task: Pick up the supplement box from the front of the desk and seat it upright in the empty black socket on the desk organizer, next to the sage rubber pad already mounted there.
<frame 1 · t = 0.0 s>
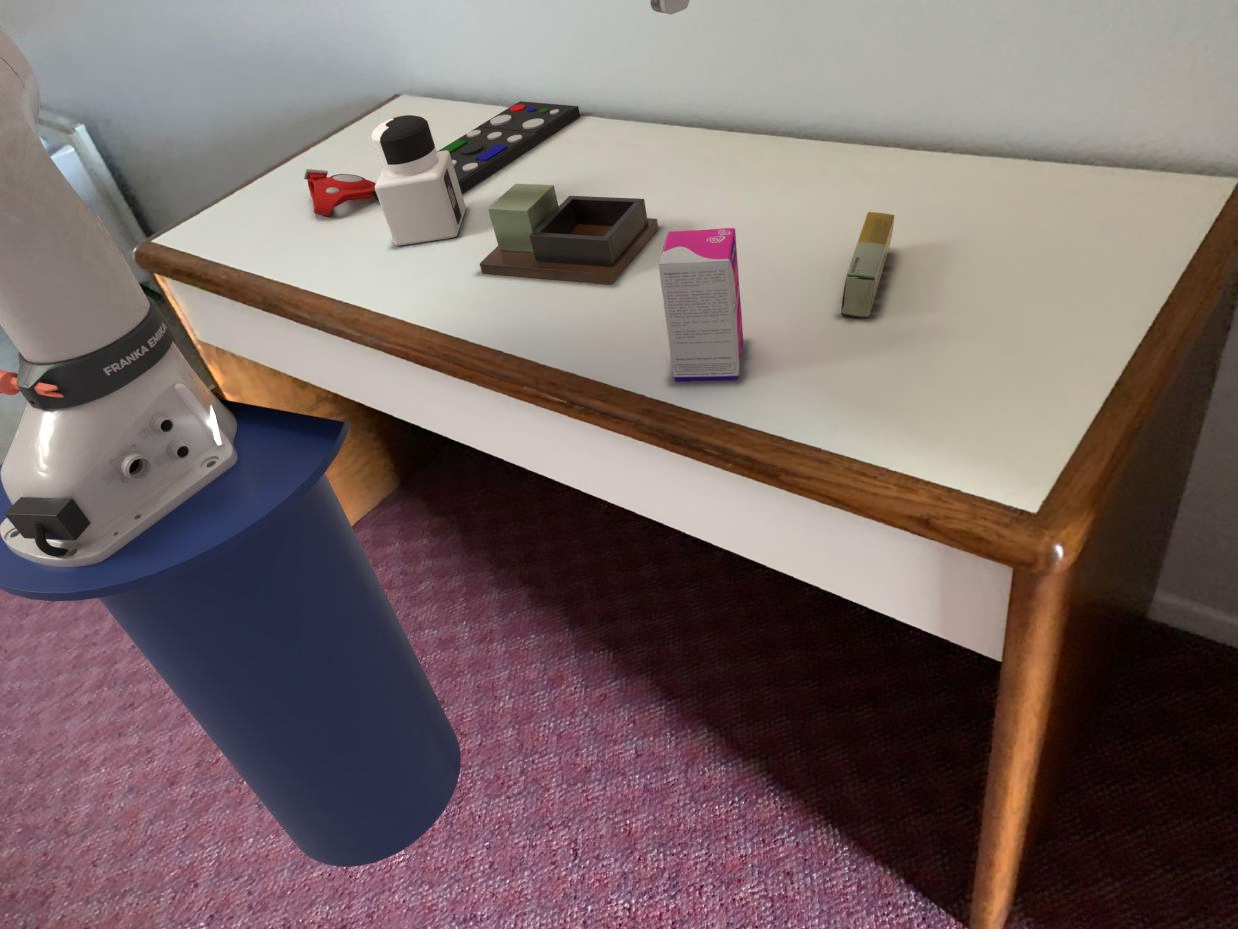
hand: (624, 1, 58), 31 cm above the table, tool pointing down, fingers open, 8 cm apart
desk organizer: (570, 250, 102), on the table
container: (432, 229, 113), on the table
red plastic curved piece: (343, 200, 125), on the table
medication box: (868, 285, 86), on the table
supplement box: (710, 364, 81), on the table
remote control: (483, 158, 128), on the table
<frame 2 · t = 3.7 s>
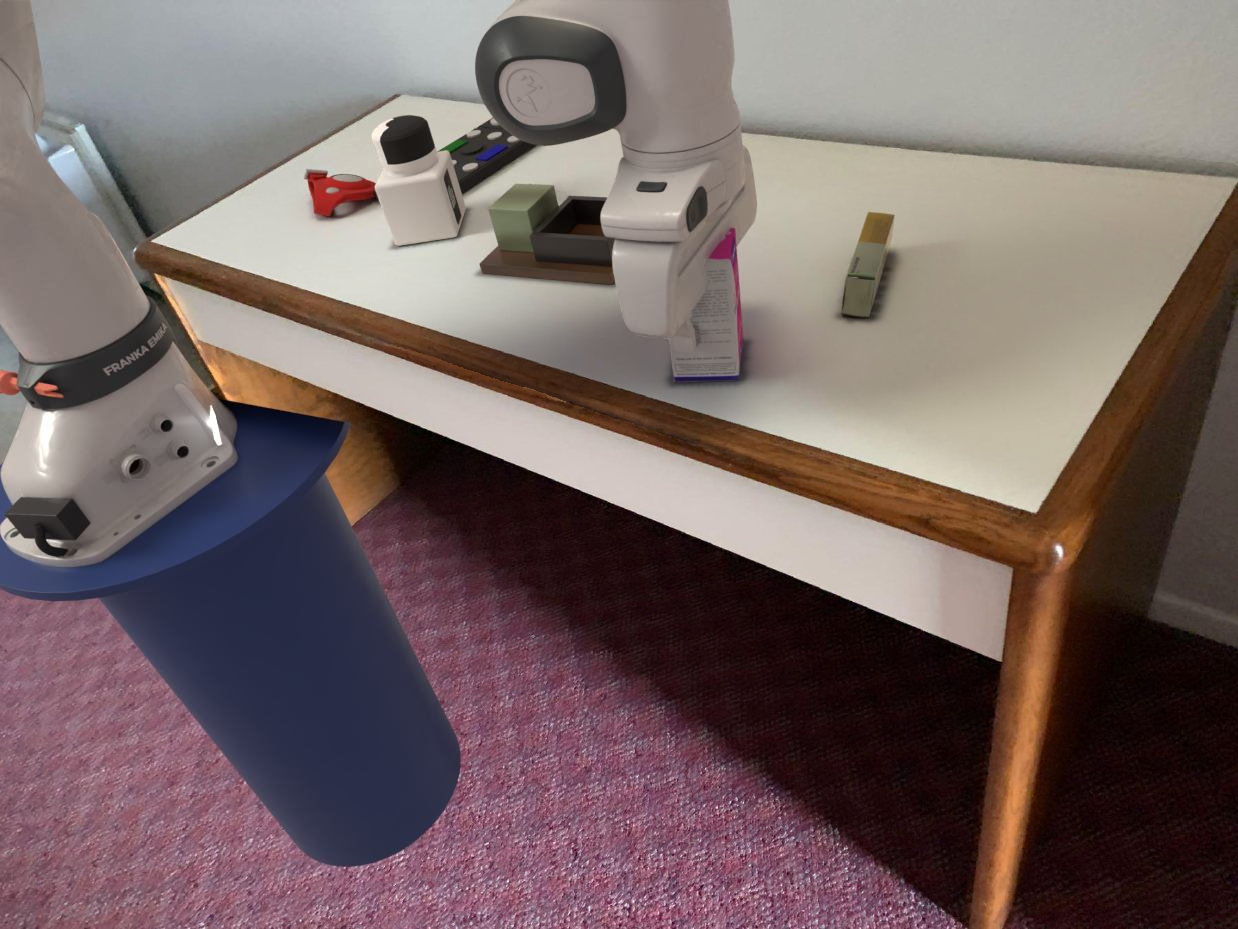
hand: (705, 322, 78), 4 cm above the table, tool pointing down, fingers closed on supplement box, 6 cm apart
supplement box: (710, 364, 81), on the table, touching gripper
everything else where it was.
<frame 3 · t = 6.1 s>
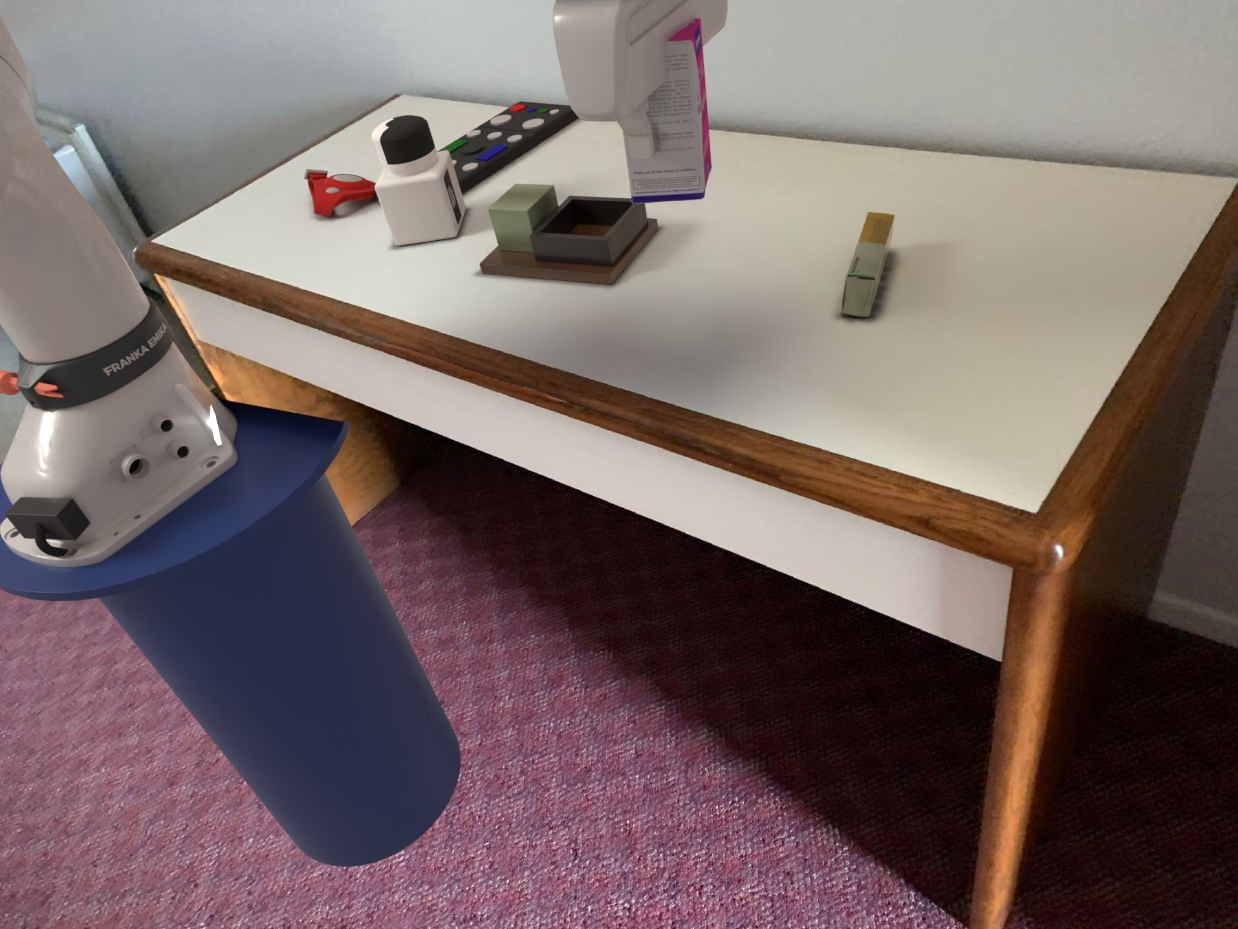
hand: (666, 134, 70), 20 cm above the table, tool pointing down, fingers closed on supplement box, 6 cm apart
supplement box: (674, 188, 72), point 16 cm above the table, touching gripper
everything else where it was.
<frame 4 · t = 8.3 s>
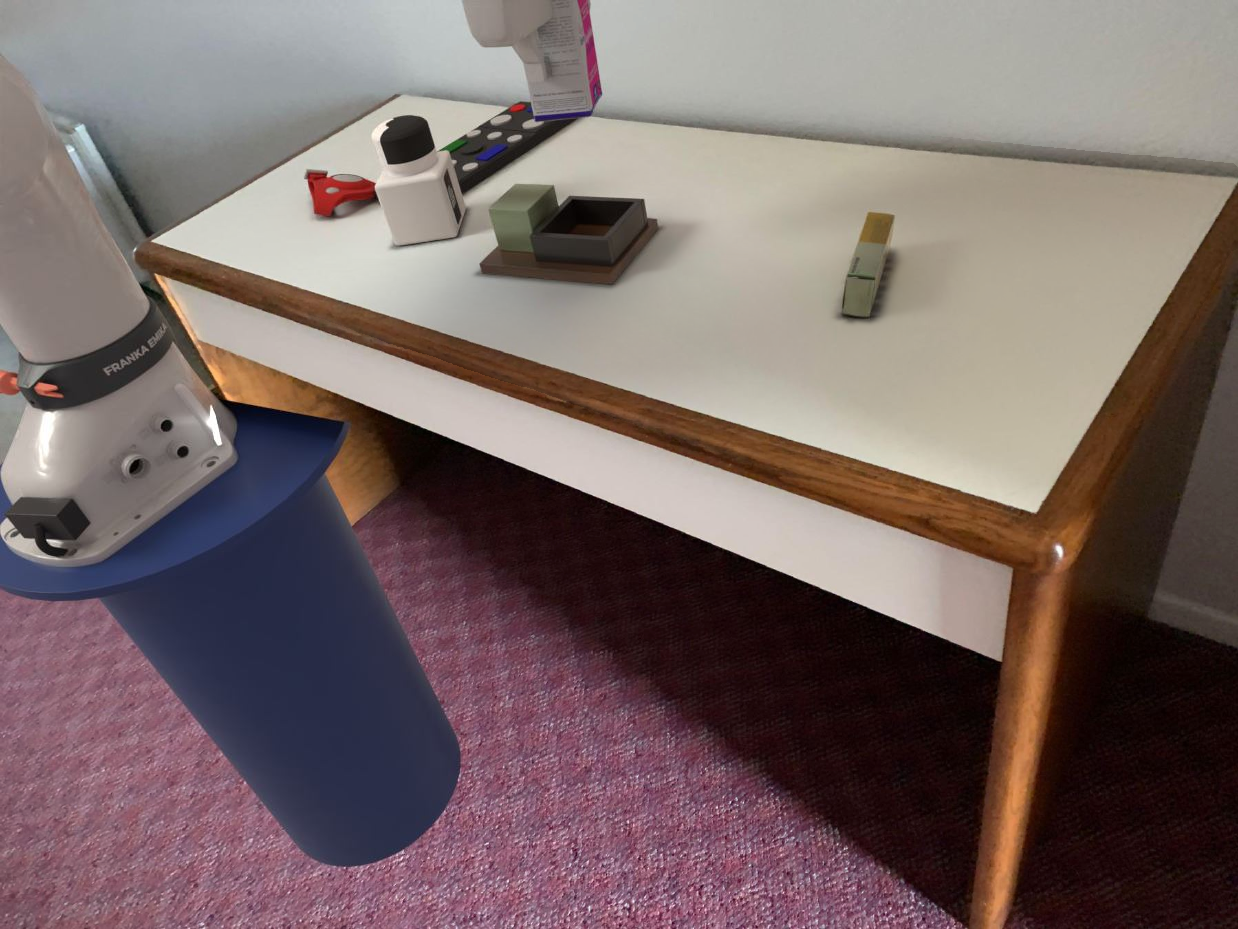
hand: (560, 64, 86), 20 cm above the table, tool pointing down, fingers closed on supplement box, 6 cm apart
supplement box: (570, 110, 89), point 16 cm above the table, touching gripper
everything else where it was.
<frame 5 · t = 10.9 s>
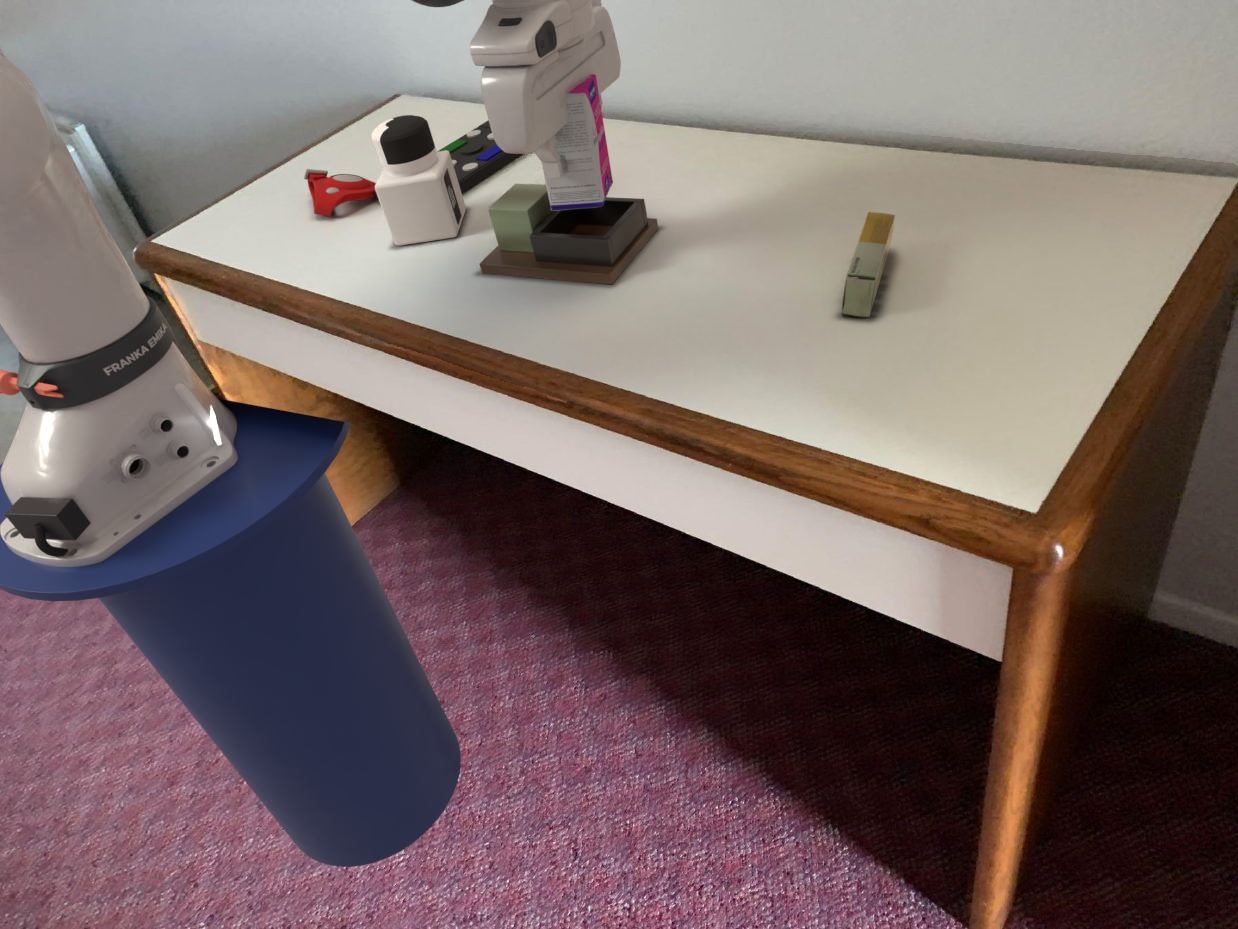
hand: (574, 158, 94), 11 cm above the table, tool pointing down, fingers closed on supplement box, 6 cm apart
supplement box: (584, 198, 96), point 6 cm above the table, touching gripper
everything else where it was.
when the fingers open (5 cm above the table, at t = 13.1 s): supplement box stays where it is, resting on desk organizer.
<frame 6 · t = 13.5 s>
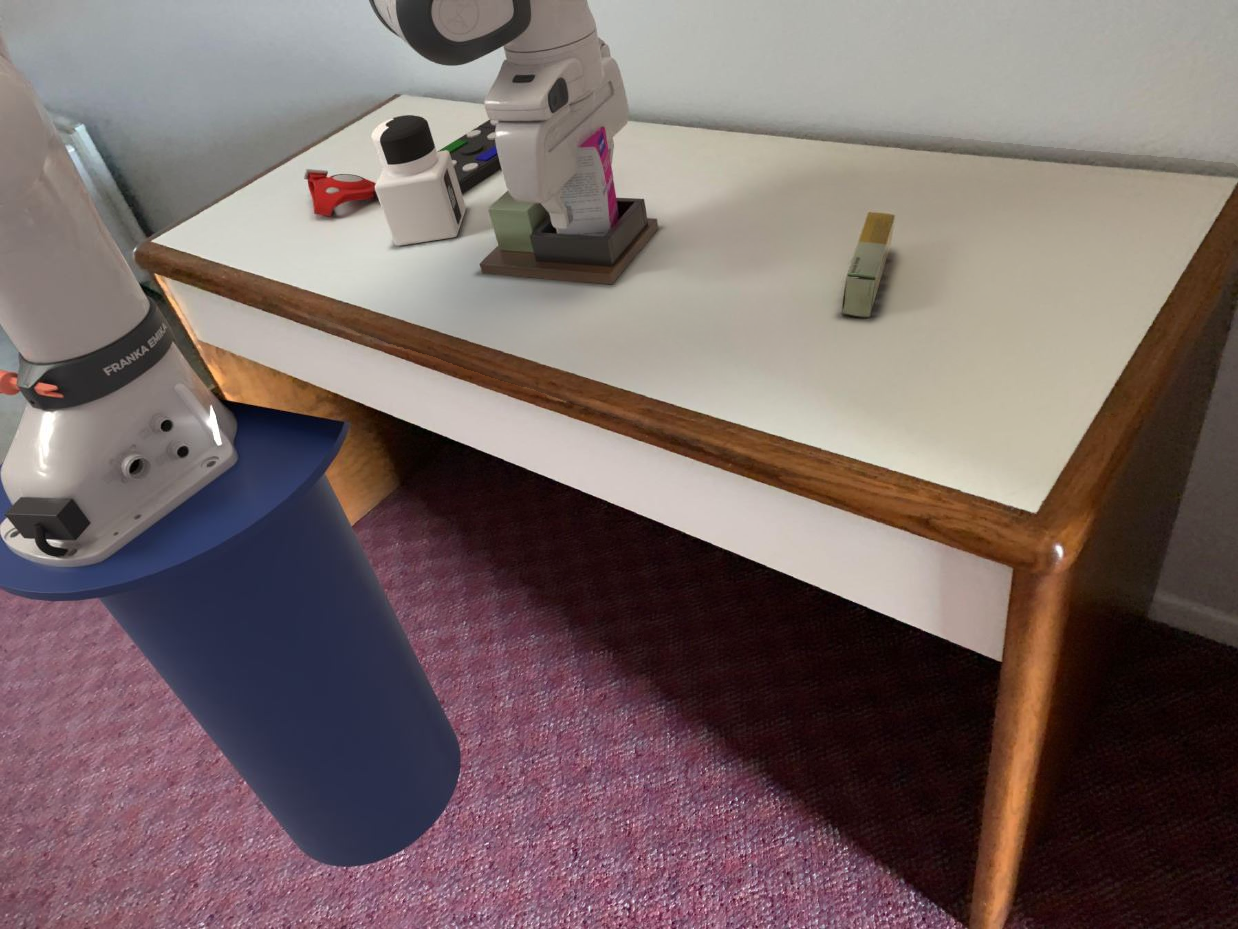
hand: (584, 203, 97), 6 cm above the table, tool pointing down, fingers open, 8 cm apart
supplement box: (593, 243, 100), point 1 cm above the table, touching desk organizer
everything else where it was.
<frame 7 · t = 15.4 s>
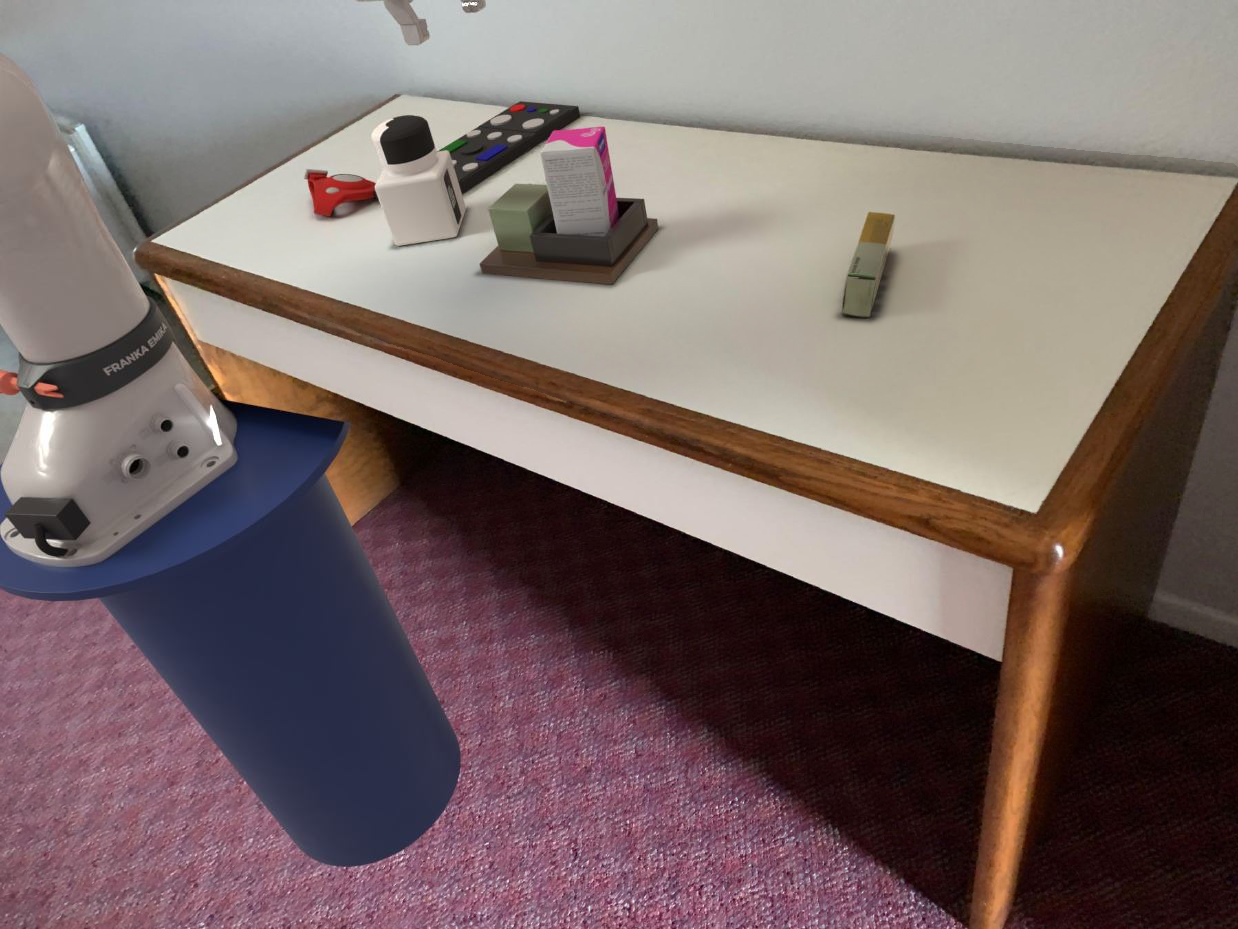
hand: (447, 26, 85), 25 cm above the table, tool pointing down, fingers open, 8 cm apart
nothing on the table moved.
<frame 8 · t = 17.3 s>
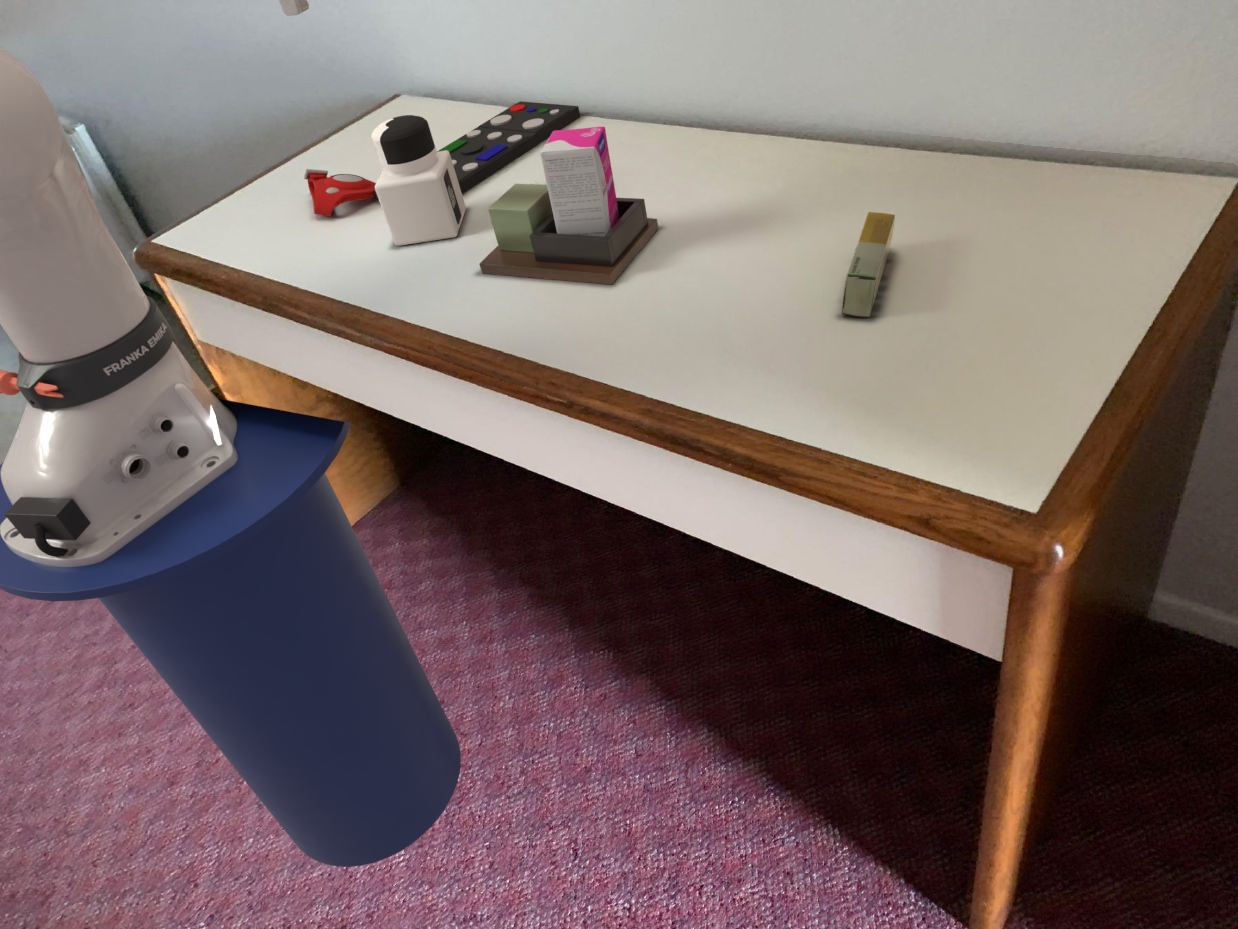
nothing on the table moved.
at the end: supplement box 0.1 cm from the target spot on the desk organizer, point 1.0 cm above the desk organizer's base; supplement box tilted 0° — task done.
